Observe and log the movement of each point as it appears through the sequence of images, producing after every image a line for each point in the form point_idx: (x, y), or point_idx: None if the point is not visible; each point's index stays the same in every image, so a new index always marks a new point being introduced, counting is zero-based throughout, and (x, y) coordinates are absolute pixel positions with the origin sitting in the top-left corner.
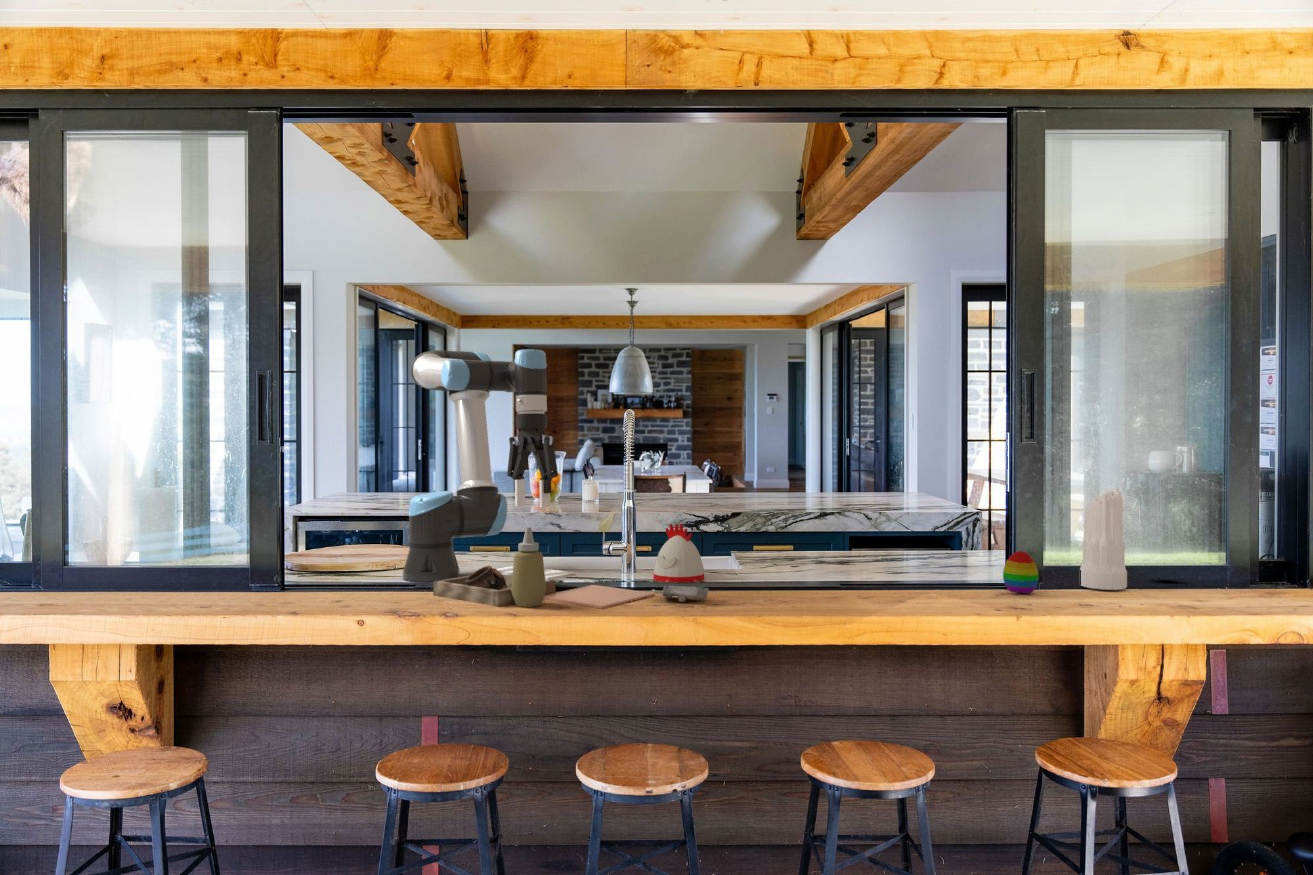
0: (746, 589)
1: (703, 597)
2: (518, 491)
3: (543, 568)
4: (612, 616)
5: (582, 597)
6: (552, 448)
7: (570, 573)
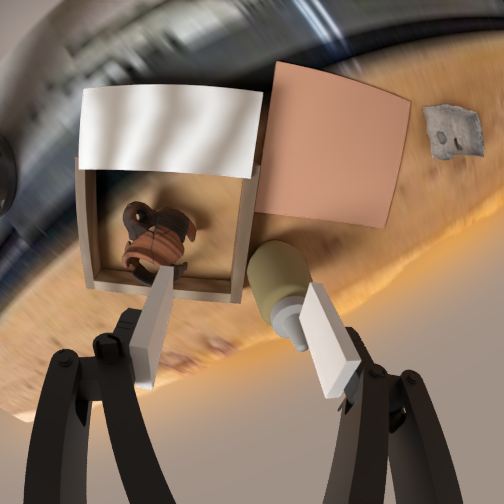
0: (469, 32)
1: (471, 131)
2: (162, 340)
3: (311, 279)
4: (406, 257)
5: (330, 183)
6: (449, 501)
7: (260, 109)
